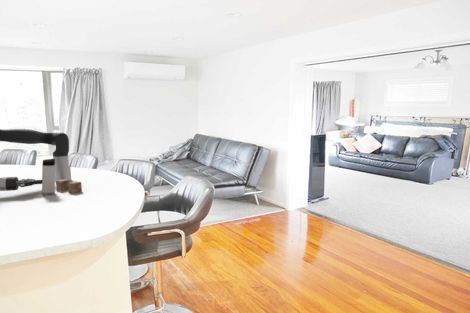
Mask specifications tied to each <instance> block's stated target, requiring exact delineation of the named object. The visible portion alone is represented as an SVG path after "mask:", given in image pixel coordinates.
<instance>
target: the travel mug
mask: <svg viewBox="0 0 470 313" xmlns="http://www.w3.org/2000/svg"><path fill="white" fill-rule="evenodd" d="M41 172H42V174H41V175H42V176H41V177H42V178H41V180H42V184H41V188H42V189H41V190H42V191H41V194H42V195H45V196H47V195H48V196H49V195H50V196H51V195H54V194H55V193H56V192H55V188H56V181H55V159H53V158H50V159H49V158H48V159H43V160H42V169H41Z"/></svg>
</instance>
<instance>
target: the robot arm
mask: <svg viewBox="0 0 470 313" xmlns="http://www.w3.org/2000/svg"><path fill="white" fill-rule="evenodd" d="M69 140H70V139H69V136H68V134H66V133H65V132H43V131H37V130H35V129H29V128H28V129H27V128H9V129H2V128H0V142H4V143H5V142H6V143H13V144H14V143H15V144H23V145H24V144H27V145H37V144H43V145H51V146H55V150H54V151H53V152H52V159H55V182H56V181H57V180H63V179H65V180H69V181H70V180H72V172H71V166H70V164H69V163H70V162H69V152H70V141H69ZM35 185H42V179H35V178H26V179H25V178H21V179H19V178H18V177H17V176H7V177H0V192H8V191H9V192H10V191H17V190H18V189H19V187H20V188H26V187H31V186H35Z"/></svg>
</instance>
